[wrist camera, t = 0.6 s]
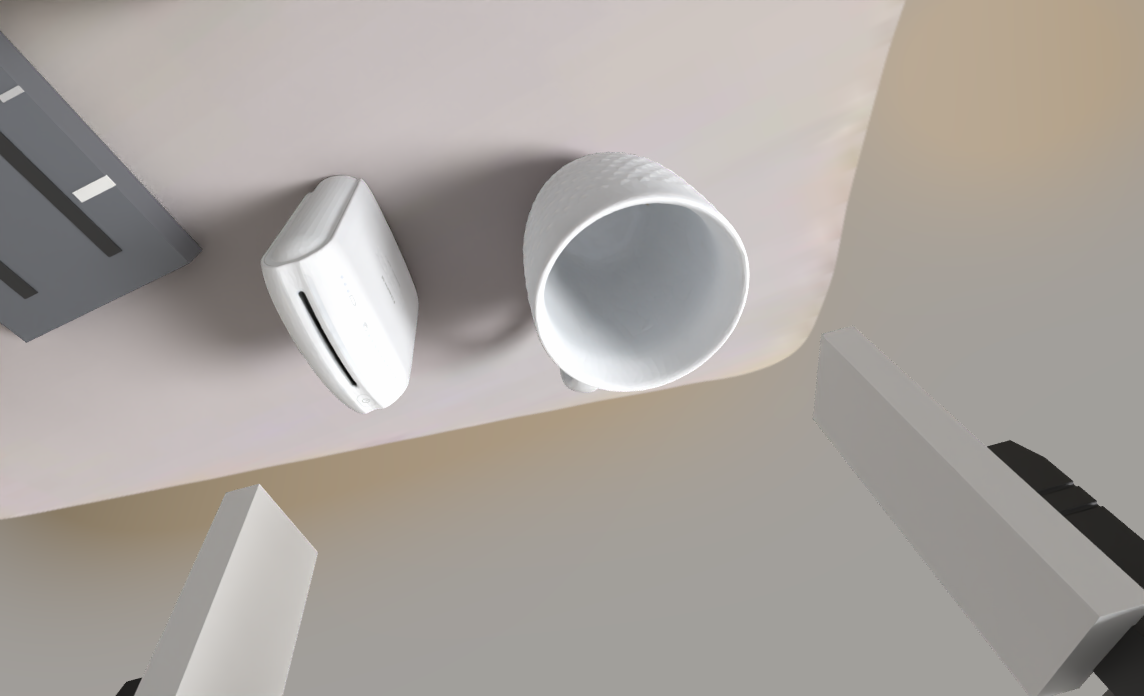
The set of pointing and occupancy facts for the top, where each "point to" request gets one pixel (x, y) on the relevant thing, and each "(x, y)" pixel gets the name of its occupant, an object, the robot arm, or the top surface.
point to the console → (69, 211)
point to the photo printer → (345, 293)
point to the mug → (630, 274)
